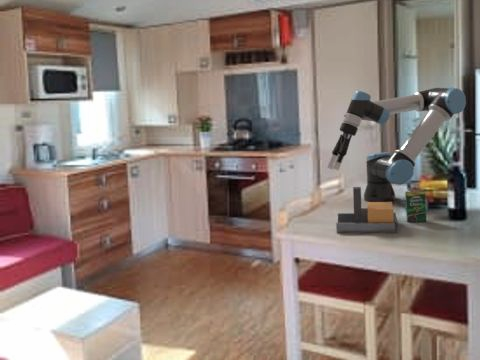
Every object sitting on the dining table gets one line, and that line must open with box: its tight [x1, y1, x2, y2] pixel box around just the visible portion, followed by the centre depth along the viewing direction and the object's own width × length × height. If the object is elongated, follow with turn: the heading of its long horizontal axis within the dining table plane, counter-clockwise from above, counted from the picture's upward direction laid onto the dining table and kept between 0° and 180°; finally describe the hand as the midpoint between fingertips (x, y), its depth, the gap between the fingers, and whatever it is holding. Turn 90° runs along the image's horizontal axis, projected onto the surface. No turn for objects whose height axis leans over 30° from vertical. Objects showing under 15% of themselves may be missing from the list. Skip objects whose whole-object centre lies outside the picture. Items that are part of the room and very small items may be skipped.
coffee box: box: [404, 189, 427, 223], centre depth 236 cm, size 8×3×13 cm, turn 80°
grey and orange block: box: [352, 186, 394, 223], centre depth 231 cm, size 16×12×16 cm
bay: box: [335, 212, 399, 234], centre depth 233 cm, size 24×16×4 cm, turn 78°
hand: (332, 168), depth 253 cm, fingers open, 13 cm apart
